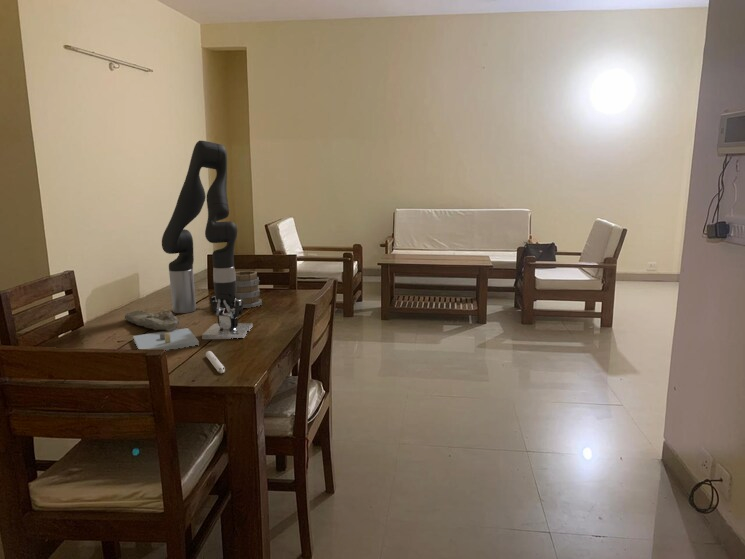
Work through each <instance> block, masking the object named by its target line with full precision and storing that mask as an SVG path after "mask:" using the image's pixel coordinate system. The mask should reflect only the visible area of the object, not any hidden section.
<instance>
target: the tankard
mask: <svg viewBox="0 0 745 559" xmlns="http://www.w3.org/2000/svg"><path fill="white" fill-rule="evenodd" d="M235 274H236V289H237V291H236V293H235V296H236V299H238V300H241V299H242V300H243V308H247V309H252V308H251V307H255V308H257V307H256V306H258V307H261V306H262V304H263V303H262V302H263V301H262V298H259V297H260V293H261V291H260V288H259V285H260V280H259V276H258V273H257V271H256V270H255V271H253V270H241V271H240V270H239V271H235ZM260 305H261V306H260ZM243 308H242V310H244V309H243ZM231 309H233V307H232V308H231Z"/></svg>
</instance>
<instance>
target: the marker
mask: <svg viewBox="0 0 745 559" xmlns="http://www.w3.org/2000/svg"><path fill="white" fill-rule="evenodd" d="M205 357H206V358H207V359H208V360H209V362H210V363H211V364H212V366H213V367H214V368H215V369H216V371H217V373H219V374H224V373H225V372H226V367H225V366H224V364H222V362H220V359H218V357H217V356H216V355H215V354H214V353H213V351H211V350H208V351H206V352H205Z"/></svg>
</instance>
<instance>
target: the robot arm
mask: <svg viewBox="0 0 745 559" xmlns="http://www.w3.org/2000/svg"><path fill="white" fill-rule="evenodd" d="M202 168H206V169H211V170H215V172H216V175H215V179H214V180H213V182H212V183H211V185H210V186H209V188H208V190H207V193H206V191H205V189H204V186H203V183H202V180H201V176H200V173H201V169H202ZM227 179H228V154H227V149H226V147H225V146H224V145H223V144H221V143H220V144H219V143H216V142H211V141H206V140H198V141H197V142H196V143H195V145H194V147H193V150H192V154H191V157H190V162H189V165H188V171H187V173H186V175H185V179H184V181H183V185H182V187H181V189H180V192H179V195H178V199H177V202H176V205H175V207H174V210H173V213H172V215H171V217H170V219H169V222H168V224H167V226H166V228H165V230H164V232H163V235H162V237H161V248H162V250H163V252H164V253H166V254H169V255H173V254H175V255H176V254H178V255H177V258H174V259H173V261H170V262H169V263H168V274H169V286H170V296H171V298H170V299H171V306H172V313H174V314H186V313H192V312H195V311H196V310H197V303H196V302H197V301H196V290H195V279H194V278H195V277H194V260H195V256H194V238H193V236H192V233H191V231H190V230H188V229H185V228H186V227H187V226H188V225H189V224H190V223H191V222H193V221H194V220H195V218H197V216H199V215H200V213H201V211H202V209H203V206H204V204H205V201H206V206H207V221H206V226H205V229H204V230H205V231H204V235H205V236H204V237H205V240H207V241H208V242H209V243H211V244H219V243H226V245H225V246H224V247H222V248H220V249H216V250H213V251H212V253H211V254H212V256H211V257H212V267H213V268H212V269H213V270H212V277H213V278H212V280H213V281H212V282H213V293H214V294H215V295H214V296H210V297H209V301H210V302H209V303H210V308H211V312H212V314H215V316H217V323H218V324H219V315H220V314H223V313H225V310H226V311H227V313H230V316H231V328H233V329H234V328H237V326H238V323H239V322H238V317H241V316H242V315H243V309H242V308H243V300H242V299H241V300H238V299H236V296H235V293H236V291H237V289H236V274H235V272H236V269H235V259H234V257H235V256H234V255H235V254H234V251H235V246H236V242H237V237H238V227H237V224H236V223H235V222H233V221H231V220H230V221H222V220H224V219H225V220H226V219H227V218H228V217H229V215H230V209H229V208H230V207H229V201H228V191H227V190H228V189H227V182H228V180H227ZM232 307H233V308H232ZM233 313H234V314H233ZM219 326H220V324H219Z"/></svg>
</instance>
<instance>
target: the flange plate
mask: <svg viewBox="0 0 745 559" xmlns="http://www.w3.org/2000/svg"><path fill="white" fill-rule="evenodd" d="M233 314H234V312H233ZM219 324H220V326H219ZM219 324H218V322H217V323H213V324H212V325H210V327H209V328H208V329H206V330H205V331H204V333H202V334H201V338H202V340H234V339H233V338H237V339H236V340H239V339H238V338H244V339H245V337H246V336H247V335H248V332H247V331H249V332H250V331H251V330H252V329H253V328H252V327H254V326H253V325H254V324H253V322H238V326H237V328H234V329H233V328H231V316H230V313H229V312H226V313H225V312H224V313H223V314H220V315H219ZM251 328H252V329H251ZM250 329H251V330H250ZM246 334H247V335H246ZM231 338H232V339H231Z"/></svg>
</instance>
